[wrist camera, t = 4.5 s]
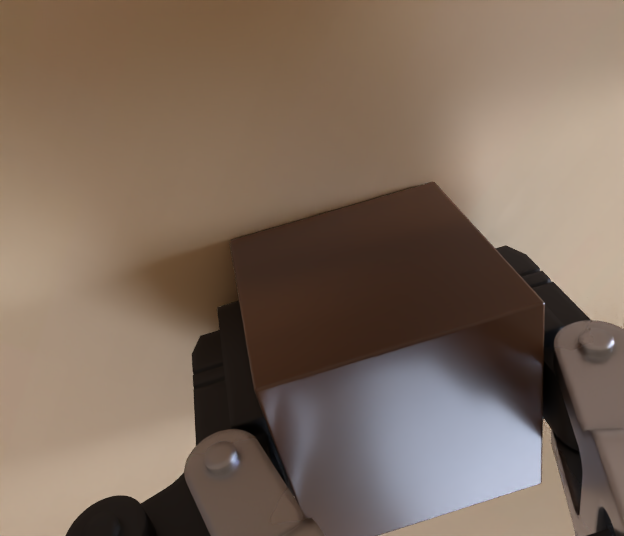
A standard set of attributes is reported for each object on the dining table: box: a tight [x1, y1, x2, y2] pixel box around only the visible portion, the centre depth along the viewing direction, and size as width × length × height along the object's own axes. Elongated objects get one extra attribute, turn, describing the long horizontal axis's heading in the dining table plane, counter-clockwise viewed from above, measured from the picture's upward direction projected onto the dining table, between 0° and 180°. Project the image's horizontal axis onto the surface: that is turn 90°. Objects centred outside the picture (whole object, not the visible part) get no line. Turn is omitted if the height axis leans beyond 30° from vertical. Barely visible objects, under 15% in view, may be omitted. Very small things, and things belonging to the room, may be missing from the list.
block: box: [230, 182, 545, 536], centre depth 12 cm, size 4×4×4 cm
